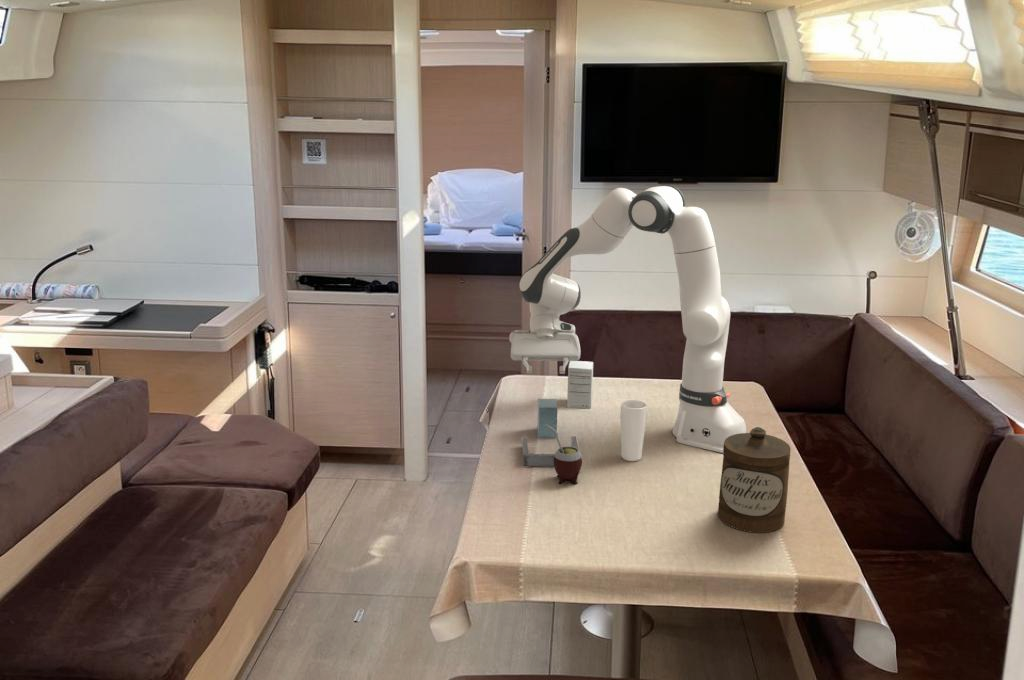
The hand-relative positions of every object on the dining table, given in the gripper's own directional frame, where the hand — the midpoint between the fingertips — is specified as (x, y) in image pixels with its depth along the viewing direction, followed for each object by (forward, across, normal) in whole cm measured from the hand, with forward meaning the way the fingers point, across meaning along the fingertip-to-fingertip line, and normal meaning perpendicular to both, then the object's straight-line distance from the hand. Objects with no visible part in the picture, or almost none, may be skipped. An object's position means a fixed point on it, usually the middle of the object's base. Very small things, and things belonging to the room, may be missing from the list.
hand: (545, 372), depth 273 cm
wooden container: (+54, +44, -34) cm, 77 cm away
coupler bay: (+29, 0, -9) cm, 30 cm away
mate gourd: (+40, +3, -20) cm, 45 cm away
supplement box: (+1, +11, +19) cm, 22 cm away
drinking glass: (+30, +21, -10) cm, 38 cm away
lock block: (+18, 0, +2) cm, 18 cm away
